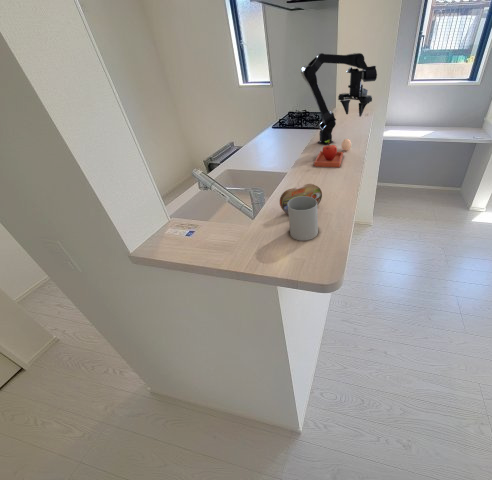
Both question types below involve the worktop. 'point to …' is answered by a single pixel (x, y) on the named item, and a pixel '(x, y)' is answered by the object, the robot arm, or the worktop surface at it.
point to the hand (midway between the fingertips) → (353, 115)
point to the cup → (303, 218)
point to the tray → (323, 162)
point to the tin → (300, 194)
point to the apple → (329, 151)
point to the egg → (346, 144)
